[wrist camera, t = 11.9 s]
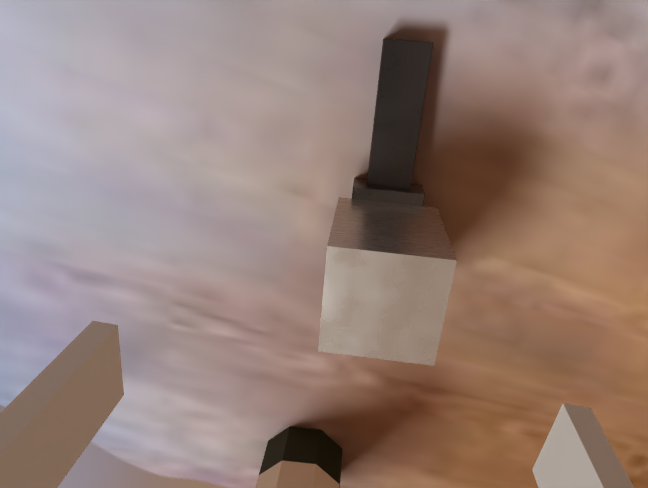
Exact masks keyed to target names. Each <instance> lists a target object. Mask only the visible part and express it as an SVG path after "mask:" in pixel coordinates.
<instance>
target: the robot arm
mask: <svg viewBox="0 0 648 488" xmlns="http://www.w3.org/2000/svg"><path fill="white" fill-rule="evenodd" d="M123 395H124V391H123V380H122V369H121V357H120V346H119V335H118V325H114V324H108V323H103V322H97V321H92V322H91V323H90V324H89V325H88V326H87V327H86V328H85V329H84V330H83V331H82V332H81V333H80V334H79V335H78V336H77V337H76V338H75V339H74V340H73V341H72V342H71V343H70V344H69V345H68V346H67V347H66V348H65V349H64V350H63V351H62V352H61V353H60V354H59V355H58V356H57V357H56V358H55V359H54V360H53V361H52V362H51V363H50V364H49V365H48V366H47V367H46V368H45V369H44V370H43V371H42V372H41V373H40V374H39V375H38V376H37V377H36V378H35V379H34V380H33V381H32V382H31V383H30V384H29V385H28V386H27V387H26V388H25V389H24V390H23V391H22V392H21V393H20V394H19V395H18V396H17V397H16V398H15V399H14V400H13V401H12V402H11V403H10V404H9V405H8V406H7V407H6V408H5V409H4V410H3V411H2V412H1V413H0V488H57V487H58V486H59V485H60V483H61V482H62V480H63V479H64V477H65V476H66V475H67V473H68V472H69V471H70V469H71V468H72V466H73V465H74V463H75V462H76V461H77V459H78V458H79V457H80V455H81V454H82V452H83V451H84V450H85V448H86V447H87V445H88V444H89V443H90V441H91V440H92V438H93V437H94V436H95V434H96V433H97V431H98V430H99V429H100V427H101V426H102V424H103V423H104V422H105V420H106V419H107V418H108V416H109V415H110V413H111V412H112V411H113V409H114V408H115V406H116V405H117V404H118V402H119V401H120V399H121V398H122V397H123ZM533 473H534V476H535V479H536V482H537V485H538V488H634V486H633V485H632V483H631V481H630V479H629V477H628V476H627V474H626V472H625V470H624V468H623V466H622V465H621V463H620V461H619V459H618V457H617V455H616V454H615V452H614V450H613V448H612V446H611V444H610V443H609V441H608V439H607V437H606V435H605V434H604V432H603V430H602V428H601V426H600V424H599V423H598V421H597V419H596V417H595V415H594V413H593V412H592V410H591V408H588V407H582V406H576V405H571V404H565V403H563V404H562V406H561V409H560V411H559V413H558V415H557V417H556V420H555V422H554V424H553V426H552V428H551V430H550V433H549V435H548V437H547V439H546V441H545V443H544V446H543V448H542V450H541V452H540V454H539V457H538V459H537V461H536V463H535V465H534V467H533Z"/></svg>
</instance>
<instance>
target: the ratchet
mask: <svg viewBox="0 0 648 488" xmlns="http://www.w3.org/2000/svg"><path fill="white" fill-rule="evenodd" d="M432 45H433V43H431V42H418V41H405V40H393V39H383V45H382V54H381V63H380V72H379V81H378V89H377V98H376V107H375V116H374V124H373V133H372V142H371V151H370V160H369V168H368V177H367V179H358V178H354V184H353V193H352V199H359V200H368V201H378V202H387V203H397V204H406V205H416V206H423V202H424V196H425V194H424V191H423V188H422V185H419V184H411V181H412V175H413V169H414V162H415V156H416V149H417V143H418V136H419V130H420V123H421V117H422V110H423V104H424V97H425V91H426V84H427V78H428V71H429V65H430V58H431V52H432Z"/></svg>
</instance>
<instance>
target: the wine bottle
mask: <svg viewBox="0 0 648 488" xmlns="http://www.w3.org/2000/svg"><path fill="white" fill-rule="evenodd" d="M341 462H342V448H341V447H340V446H339V445H337V444H336V443H335V442H334V441H333V440H332V439H331V438H330V437H328V436H327V435H326V434H325V433H324V432H323V431H322V430H317V429H307V428H297V427H289V428H287V429H286V430H284V431H283V432H281V433H280V434H278V435H277V436H275V437H274V438H272V439H271V440H269V441H268V444H267V447H266V451H265V455H264V459H263V462H262V466H261V470H260V473H259V477H258V481H257V484H256V488H340V476H341Z"/></svg>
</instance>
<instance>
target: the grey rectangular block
mask: <svg viewBox="0 0 648 488" xmlns="http://www.w3.org/2000/svg"><path fill="white" fill-rule="evenodd" d="M456 262H457V259H456V257H455V254H454V251H453V249H452V246H451V243H450V241H449V238H448V235H447V233H446V230H445V227H444V225H443V222H442V219H441V217H440V214H439V212H438V209H437V208H435V207H425V206H416V205H406V204H397V203H387V202H378V201H368V200H359V199H349V198H340V197H339V199H338V203H337V207H336V212H335V216H334V220H333V224H332V228H331V232H330V236H329V241H328V245H327V254H326V265H325V277H324V289H323V300H322V312H321V323H320V335H319V346H318V351H322V352H329V353H337V354H345V355H353V356H361V357H369V358H377V359H385V360H393V361H400V362H408V363H416V364H424V365H432V366H434V365H435V360H436V356H437V351H438V346H439V342H440V337H441V332H442V328H443V323H444V318H445V314H446V309H447V304H448V300H449V295H450V290H451V286H452V281H453V276H454V272H455V267H456Z"/></svg>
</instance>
